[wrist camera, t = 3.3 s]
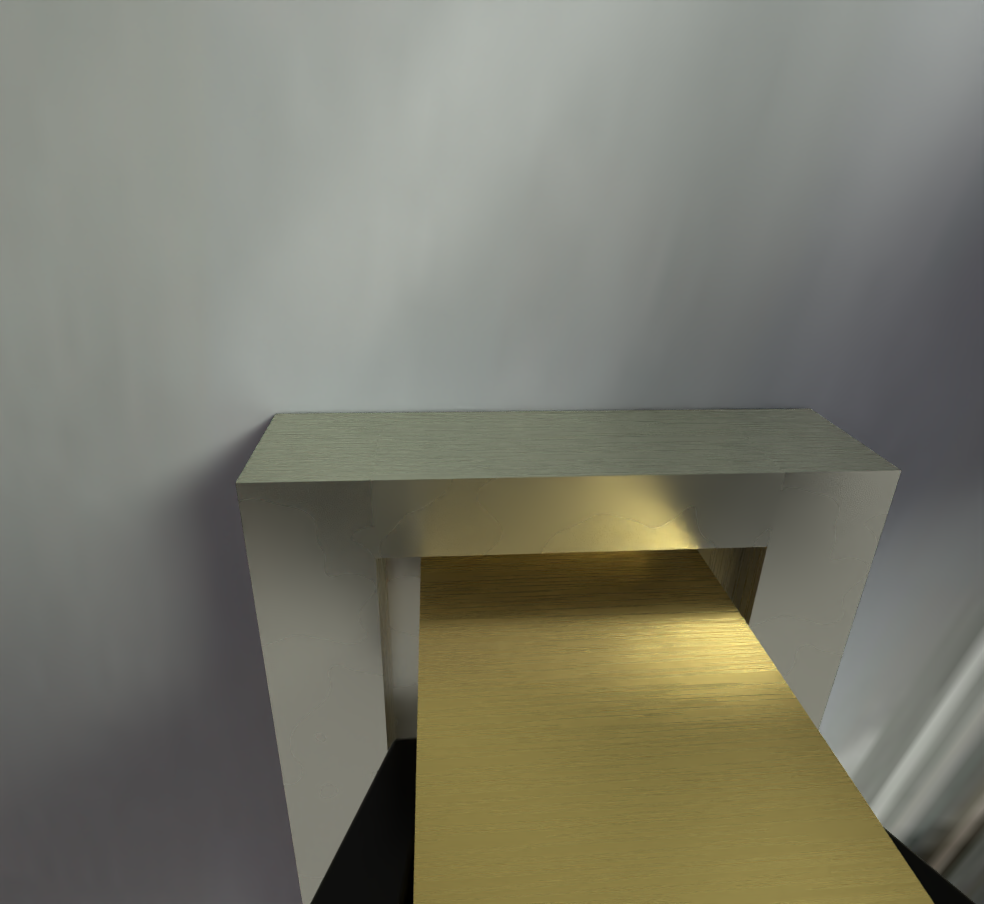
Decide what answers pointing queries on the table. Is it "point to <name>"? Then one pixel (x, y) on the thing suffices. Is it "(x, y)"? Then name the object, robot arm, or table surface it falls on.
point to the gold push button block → (623, 746)
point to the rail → (526, 552)
